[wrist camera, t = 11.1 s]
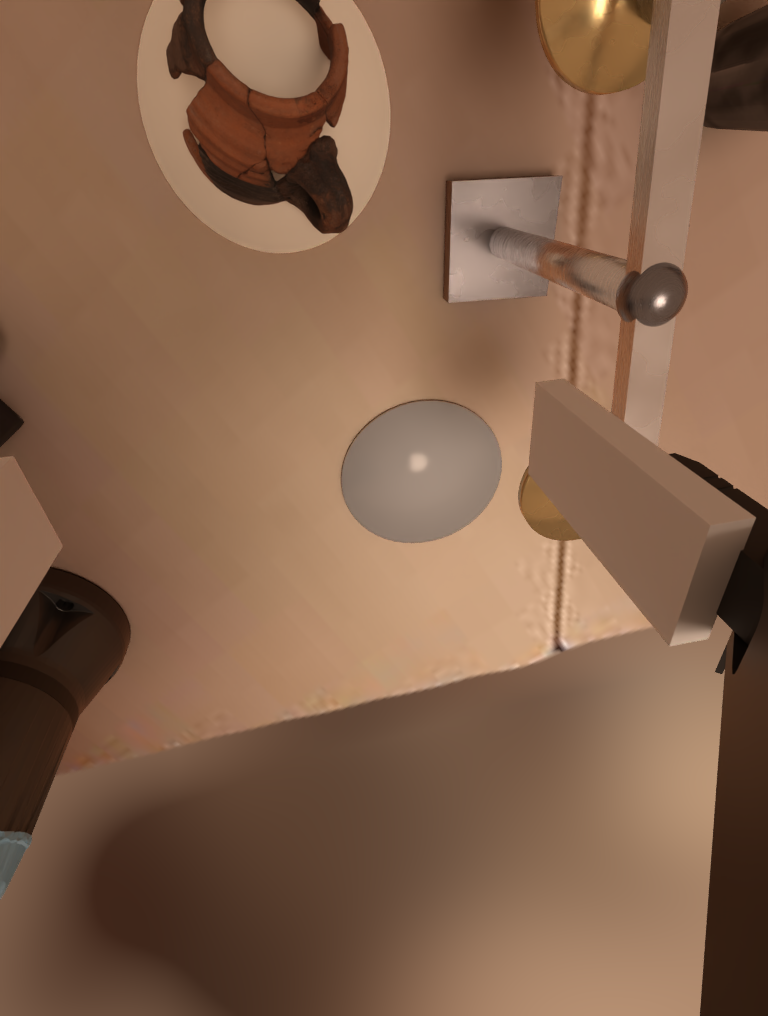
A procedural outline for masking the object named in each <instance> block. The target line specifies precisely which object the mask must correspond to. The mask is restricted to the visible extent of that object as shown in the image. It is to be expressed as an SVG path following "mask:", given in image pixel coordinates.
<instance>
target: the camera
mask: <svg viewBox="0 0 768 1016" xmlns="http://www.w3.org/2000/svg"><path fill="white" fill-rule="evenodd" d="M23 423H24V422H23V420H22V419H21V418H20V417H19V416H18V415H17V414H16V413H15V412H14V411H13V410H12V409H11V408H9V407H8V406H7V405H6V404H5V403H4V402H3V401H2V400H1V399H0V447H1V446H2V445H3V444H4V443H5V442H6V441H7V440H8V439H9V438H10V437H11V436H12V435H13V434H14V433H15V432H16V431H17V430H18V429H19V428H20V427H21V426H22V425H23Z"/></svg>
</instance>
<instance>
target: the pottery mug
mask: <svg viewBox="0 0 768 1016" xmlns="http://www.w3.org/2000/svg"><path fill="white" fill-rule="evenodd" d="M296 1H297V2H298V3H299V4H300V5H301V6H302V7H303V8H304V9H305V10H306V11H307V12H308V13H309V15H310V16H311V17H312V18H313V19H314V20H315V22H316V25H317V32H318V38H319V45H320V48H321V50H322V52H323V53H324V54H325V55H326V56H327V58H328V59H329V60H330V67H329V71H328V74H327V76H326V78H325V79H324V81H323V82H322V83H321V85H320V86H319V87H318V88H317V89H316V91H315V92H312V93H309V94H308V95H305V96H301V97H296V98H278V97H273V96H269V95H266V94H263V93H260V92H258V91H256V90H253V89H251V88H249V87H248V86H247V85H246V84H244V83H243V82H241V81H240V80H239V79H237V78H236V77H235V76H234V75H233V74H232V73H231V72H230V71H229V70H228V69H227V68H226V67H225V65H224V64H223V63H222V62H221V61H220V60H219V59H218V58H217V57H216V55H215V53H214V51H213V48H212V46H211V44H210V42H209V40H208V37H207V34H206V31H205V25H204V7H205V3H206V0H180V3H181V5H183V11H182V12H181V13H180V14H179V15H178V18H177V20H176V21H175V23H174V25H173V29H172V37H171V41H170V43H169V44H168V46H167V49H166V56H167V63H168V69H169V73H170V75H171V77H172V78H173V79H178V78H179V77H180V75H181V74H182V73H184V74H187V75H192V76H196V77H197V78H199V79H201V80H204V81H205V85H204V87H202V88H201V89H200V90H199V91H198V93H197V95H196V97H194V99H193V100H192V102H191V103H190V105H189V106H188V107H187V109H186V113H187V117H188V123H189V128H190V129H185V130H184V131H183V138H184V141H185V143H186V146H187V148H188V150H189V152H190V154H191V155H192V157H193V158H194V160H195V162H196V164H197V165H198V167H199V168H200V170H201V171H202V172H203V174H204V175H205V176H206V177H207V178H208V179H209V180H210V182H211V183H213V184H214V185H215V186H216V187H217V188H218V189H219V190H220V191H222V192H223V193H225V194H227V195H228V196H230V197H231V198H233V199H236V200H238V201H241V202H244V203H247V204H251V205H258V206H260V205H271V204H277V203H280V202H283V201H287V202H288V203H290V204H292V205H294V206H296V207H297V208H298V209H299V210H301V211H302V212H303V213H304V214H305V216H306V217H307V219H308V220H309V221H310V223H311V224H312V225H313V226H314V227H315V228H316V229H317V230H318V231H319V232H321V233H322V234H330V233H341V232H343V231H344V230H345V229H346V228H347V227H348V225H349V221H350V218H351V215H352V212H353V198H352V194H351V191H350V188H349V186H348V183H347V180H346V178H345V176H344V174H343V172H342V171H341V169H340V167H339V165H338V162H337V154H338V149H337V147H336V143H335V140H334V139H333V138H332V137H331V136H327V135H324V136H321V137H319V136H320V134H321V132H322V130H323V125H324V124H325V122H327V123H328V124H329V126H330V127H333V128H335V126H336V125H337V123H338V120H339V117H340V115H341V111H342V107H343V103H344V100H345V97H346V88H347V74H348V62H349V61H348V55H349V47H348V42H347V36H346V32H345V28H344V26H343V24H342V23H336V24H333V23H332V21H331V20H330V19H329V17H328V16H327V15H326V14H325V12H324V10H323V8H322V7H321V6H320V5H319V3H320V0H296ZM192 133H193V134H194V136H195V137H196V138H197V139H198V141H199V142H200V143H199V144H197V142H196V140H195V138H194V136H193V134H192ZM271 171H275V172H276V173H278V174H285V176H284V177H282V178H281V179H279V180H278V181H276V180H275V179H274V177H273V174H272V172H271Z"/></svg>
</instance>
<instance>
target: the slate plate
mask: <svg viewBox="0 0 768 1016" xmlns="http://www.w3.org/2000/svg"><path fill="white" fill-rule="evenodd" d="M501 468H502V459H501V452H500V448H499V444H498V442H497V440H496V437H495V435H494V434H493V432H492V431H491V429H490V428H489V426H488V425H487V424H486V423H485V422H484V421H483V420H482V419H481V418H480V417H479V416H478V415H476V414H475V413H474V412H472V411H470V410H469V409H467V408H465V407H463V406H460V405H458V404H455V403H451V402H447V401H440V400H420V401H414V402H409V403H405V404H402V405H399V406H396V407H394V408H392V409H389V410H387V411H386V412H384V413H382V414H380V415H379V416H377V417H376V418H375V419H373V420H372V421H371V422H369V423H368V424H367V425H366V426H365V427H364V428H363V429H362V430H361V431H360V433H359V434H358V435H357V436H356V437H355V439H354V440H353V442H352V444H351V445H350V447H349V449H348V451H347V454H346V456H345V459H344V463H343V467H342V474H341V482H342V491H343V496H344V499H345V502H346V505H347V506H348V508H349V510H350V512H351V513H352V515H353V516H354V518H355V519H356V520H357V521H358V522H359V523H360V524H361V525H362V526H363V527H365V528H366V529H367V530H369V531H370V532H372V533H374V534H375V535H377V536H380V537H382V538H385V539H388V540H392V541H396V542H402V543H422V542H428V541H433V540H437V539H441V538H444V537H446V536H449V535H451V534H453V533H455V532H457V531H459V530H461V529H462V528H464V527H465V526H467V525H468V524H469V523H471V522H472V521H473V520H474V519H476V518H477V517H478V516H479V515H480V514H481V513H482V511H483V510H484V509H485V508H486V506H487V505H488V504H489V502H490V501H491V499H492V497H493V496H494V493H495V491H496V489H497V487H498V483H499V480H500V475H501Z"/></svg>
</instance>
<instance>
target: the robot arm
mask: <svg viewBox="0 0 768 1016" xmlns="http://www.w3.org/2000/svg"><path fill="white" fill-rule="evenodd" d="M528 474H529V475H530V476H531V478H532V479H533V480H534V481H535V482H536V484H537V485H538V486H539V487H540V489H541V490H542V491H543V492H544V493H545V495H546V496H547V497H548V498H549V500H550V501H551V502H552V503H553V504H554V506H555V507H556V508H557V509H558V511H559V512H560V513H561V514H562V516H563V517H564V518H565V519H566V520H567V522H568V523H569V524H570V525H571V527H572V528H573V529H574V530H575V531H576V533H577V534H578V535H579V536H580V538H581V539H582V540H583V541H584V542H585V544H586V545H587V546H588V547H589V549H590V550H591V551H592V552H593V553H594V555H595V556H596V557H597V558H598V560H599V561H600V562H601V563H602V564H603V566H604V567H605V568H606V569H607V571H608V572H609V573H610V574H611V575H612V577H613V578H614V579H615V580H616V582H617V583H618V584H619V585H620V587H621V588H622V589H623V590H624V591H625V593H626V594H627V595H628V596H629V598H630V599H631V600H632V601H633V602H634V604H635V605H636V606H637V607H638V609H639V610H640V611H641V612H642V613H643V615H644V616H645V617H646V618H647V620H648V621H649V622H650V623H651V624H652V626H653V627H654V628H655V629H656V631H657V632H658V633H659V634H660V635H661V637H662V638H663V639H664V640H665V642H666V643H667V644H668V645H669V646H674V645H678V644H684V643H689V642H695V641H700V640H705V639H708V637H709V635H710V633H711V630H712V628H713V625H714V622H715V620H716V617H717V615H719V617H720V618H721V619H722V620H723V621H724V622H725V623H726V624H727V625H728V626H729V627H730V628H731V629H732V630H733V631H732V633H731V636H730V638H729V640H728V643H727V645H726V648H725V650H724V652H723V655H722V657H721V659H720V661H719V664H718V666H717V668H716V671H715V672H717V673H720V674H722V673H723V671H724V669H725V677H724V690H723V704H722V718H721V732H720V746H719V759H718V760H719V761H718V773H717V787H716V801H715V814H714V829H713V842H712V856H711V870H710V884H709V898H708V911H707V912H708V913H707V925H706V940H705V952H704V968H703V980H702V994H701V1008H700V1016H768V509H766V508H765V507H763V506H762V505H760V504H759V503H758V502H756V501H755V500H753V499H752V498H750V497H749V496H747V495H746V494H744V493H743V492H742V491H740V490H739V489H734V488H733V485H731V484H730V483H729V482H727V481H726V480H724V479H723V478H718V475H717V474H715V473H714V472H713V471H711V470H710V469H708V468H707V467H705V466H704V465H702V464H701V463H699V462H697V461H694V460H691V459H689V458H686V457H684V456H681V455H678V454H676V453H673V454H667V453H666V452H665V451H663V450H662V449H660V448H659V447H658V446H656V445H655V444H654V443H652V442H651V441H649V440H648V439H647V438H645V437H644V436H642V435H641V434H640V433H638V432H637V431H636V430H634V429H633V428H631V427H630V426H629V425H627V424H626V423H624V422H623V421H622V420H620V419H619V418H618V417H616V416H615V415H613V414H612V413H611V412H609V411H608V410H606V409H605V408H604V407H602V406H601V405H600V404H598V403H597V402H595V401H594V400H593V399H591V398H590V397H588V396H587V395H586V394H584V393H583V392H582V391H580V390H579V389H577V388H576V387H575V386H573V385H572V384H570V383H569V382H568V381H566V380H565V379H557V380H550V381H543V382H536V386H535V398H534V410H533V421H532V433H531V444H530V456H529V468H528ZM62 547H63V545H62V543H61V541H60V539H59V538H58V536H57V534H56V532H55V530H54V529H53V527H52V525H51V523H50V521H49V520H48V518H47V516H46V514H45V512H44V510H43V509H42V507H41V505H40V503H39V501H38V500H37V498H36V496H35V494H34V492H33V491H32V489H31V487H30V485H29V483H28V481H27V480H26V478H25V476H24V474H23V472H22V471H21V469H20V467H19V465H18V463H17V462H16V460H15V458H14V456H8V457H1V458H0V899H1V898H2V896H3V895H4V893H5V891H6V889H7V887H8V885H9V883H10V881H11V879H12V877H13V875H14V873H15V871H16V869H17V867H18V865H19V863H20V861H21V859H22V857H23V854H24V852H25V850H26V849H27V848H28V847H29V845H30V844H31V841H32V837H31V835H32V832H33V830H34V827H35V825H36V822H37V820H38V817H39V815H40V812H41V810H42V807H43V805H44V802H45V800H46V797H47V795H48V792H49V790H50V787H51V785H52V782H53V780H54V777H55V775H56V772H57V770H58V767H59V765H60V762H61V760H62V757H63V755H64V752H65V750H66V747H67V745H68V742H69V740H70V737H71V735H72V732H73V730H74V727H75V725H76V722H77V720H78V718H79V715H80V714H81V713H82V712H83V710H84V709H85V708H86V707H87V706H88V704H89V703H90V702H91V701H92V699H93V698H94V697H95V696H96V695H97V693H98V692H99V691H100V690H101V688H102V687H103V686H104V685H105V684H106V683H107V682H108V681H109V680H110V679H111V678H112V677H113V676H114V675H115V674H116V672H117V671H118V669H119V667H120V666H121V664H122V662H123V659H124V656H125V654H126V651H127V648H128V645H129V642H130V627H129V623H128V620H127V618H126V616H125V614H124V612H123V611H122V609H121V608H120V606H119V605H118V604H117V603H116V602H115V601H114V600H113V599H112V598H111V597H110V596H109V595H108V594H107V593H105V592H104V591H103V590H101V589H100V588H98V587H97V586H95V585H93V584H92V583H90V582H88V581H86V580H84V579H82V578H80V577H77V576H75V575H72V574H69V573H66V572H63V571H59V570H55V569H51V568H50V566H51V565H52V563H53V562H54V560H55V558H56V557H57V555H58V553H59V552H60V550H61V548H62Z"/></svg>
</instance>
